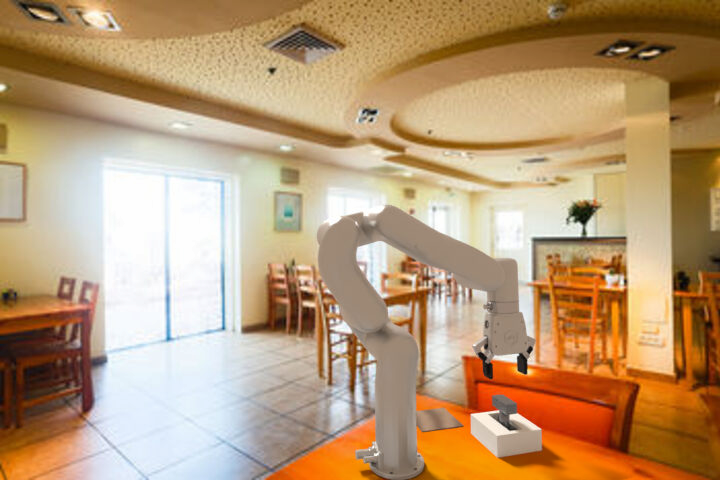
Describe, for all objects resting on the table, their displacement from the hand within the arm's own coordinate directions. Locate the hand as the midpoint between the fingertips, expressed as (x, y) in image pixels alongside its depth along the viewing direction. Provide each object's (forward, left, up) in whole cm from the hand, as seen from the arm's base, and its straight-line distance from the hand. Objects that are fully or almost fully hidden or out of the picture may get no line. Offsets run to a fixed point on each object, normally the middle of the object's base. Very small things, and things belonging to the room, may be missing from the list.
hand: (505, 375), depth 99 cm
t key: (-1, 0, -17) cm, 17 cm away
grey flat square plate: (-13, +16, -18) cm, 27 cm away
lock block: (-1, 0, -18) cm, 18 cm away
